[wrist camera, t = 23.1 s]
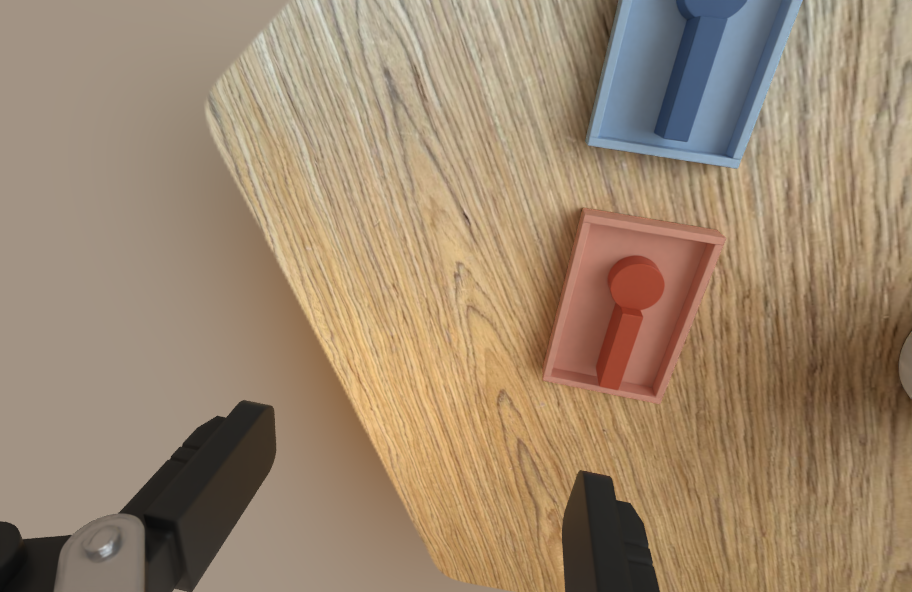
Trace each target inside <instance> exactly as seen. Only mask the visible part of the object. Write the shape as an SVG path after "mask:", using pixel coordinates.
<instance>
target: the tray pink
mask: <svg viewBox="0 0 912 592" xmlns="http://www.w3.org/2000/svg"><path fill="white" fill-rule="evenodd" d="M725 240H726V238H725V237H724V236H723V235H722V234H721V233H720V232H719V231H718V230H714V229H708V228H702V227H696V226H690V225H684V224H678V223H672V222H666V221H660V220H654V219H648V218H642V217H636V216H630V215H624V214H618V213H612V212H606V211H600V210H594V209H588V208H583V209H582V213H581V217H580V221H579V225H578V228H577V232H576V236H575V240H574V244H573V248H572V252H571V256H570V260H569V264H568V268H567V272H566V276H565V280H564V284H563V288H562V292H561V296H560V300H559V304H558V308H557V312H556V316H555V320H554V324H553V328H552V332H551V336H550V340H549V344H548V348H547V352H546V356H545V360H544V364H543V381H548V382H553V383H558V384H563V385H567V386H572V387H577V388H582V389H587V390H592V391H597V392H602V393H607V394H612V395H617V396H622V397H627V398H632V399H637V400H642V401H647V402H652V403H657V404H660V403H661V401H662V398H663V396H664V393H665V391H666V388H667V386H668V383H669V381H670V378H671V376H672V373H673V371H674V368H675V366H676V363H677V361H678V358H679V355H680V353H681V350H682V348H683V345H684V343H685V340H686V338H687V335H688V333H689V330H690V328H691V325H692V323H693V320H694V318H695V315H696V313H697V310H698V308H699V305H700V303H701V300H702V298H703V295H704V293H705V290H706V288H707V285H708V283H709V280H710V278H711V275H712V273H713V270H714V268H715V265H716V263H717V260H718V258H719V255H720V253H721V250H722V248H723V245H724V243H725ZM629 256H643V257H646V258H648V259H650V260H651V261H653V262H654V263H655V264H656V266H657V267H658V269H659V270H660V272H661V274H662V276H663V278H664V282H665V288H664V292H663V295H662V296H661V298H660V299H659V301H658V302H657V303H655V304H654V305H653V306H651V307H649V308H647V309H644V310H641V313H642V315H643V320H642V323H641V326H640V329H639V332H638V335H637V338H636V341H635V344H634V346H633V349H632V352H631V355H630V358H629V361H628V364H627V367H626V370H625V373H624V376H623V378H622V381H621V384H620V387H619V390H613V389H608V388H603V387H599V383H598V377H597V371H596V364H597V361H598V358H599V355H600V351H601V348H602V345H603V342H604V338H605V335H606V332H607V329H608V325H609V322H610V319H611V316H612V313H613V309H614V306H615V301H614V300H613V298H612V296H611V293H610V290H609V287H608V274H609V272H610V270H611V268H612V267H613V266H614V265H615V264H616V263H617V262H618V261H620V260H621V259H623V258H626V257H629Z"/></svg>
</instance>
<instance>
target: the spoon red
mask: <svg viewBox="0 0 912 592" xmlns="http://www.w3.org/2000/svg"><path fill="white" fill-rule="evenodd" d="M608 287H609V290H610V293H611V296H612V298H613V300H614V301H615V306H614V309H613V313H612V316H611V319H610V322H609V325H608V329H607V332H606V335H605V338H604V342H603V345H602V348H601V351H600V355H599V358H598V361H597V364H596V371H597V377H598V383H599V387H603V388H608V389H613V390H619V387H620V384H621V381H622V378H623V376H624V373H625V370H626V367H627V364H628V361H629V358H630V355H631V352H632V349H633V346H634V344H635V341H636V338H637V335H638V332H639V329H640V326H641V323H642V320H643V315H642V313H641V310H644V309H647V308H649V307H651V306H653V305H654V304H655V303H657V302H658V301H659V299H660V298H661V296H662V295H663V292H664V288H665V282H664V278H663V276H662V274H661V272H660V270H659V269H658V267H657V266H656V264H655V263H654V262H653V261H651V260H650V259H648V258H646V257H643V256H629V257H626V258H623V259H621V260H620V261H618V262H617V263H616V264H615V265H614V266H613V267H612V268H611V270H610V272H609V274H608Z"/></svg>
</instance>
